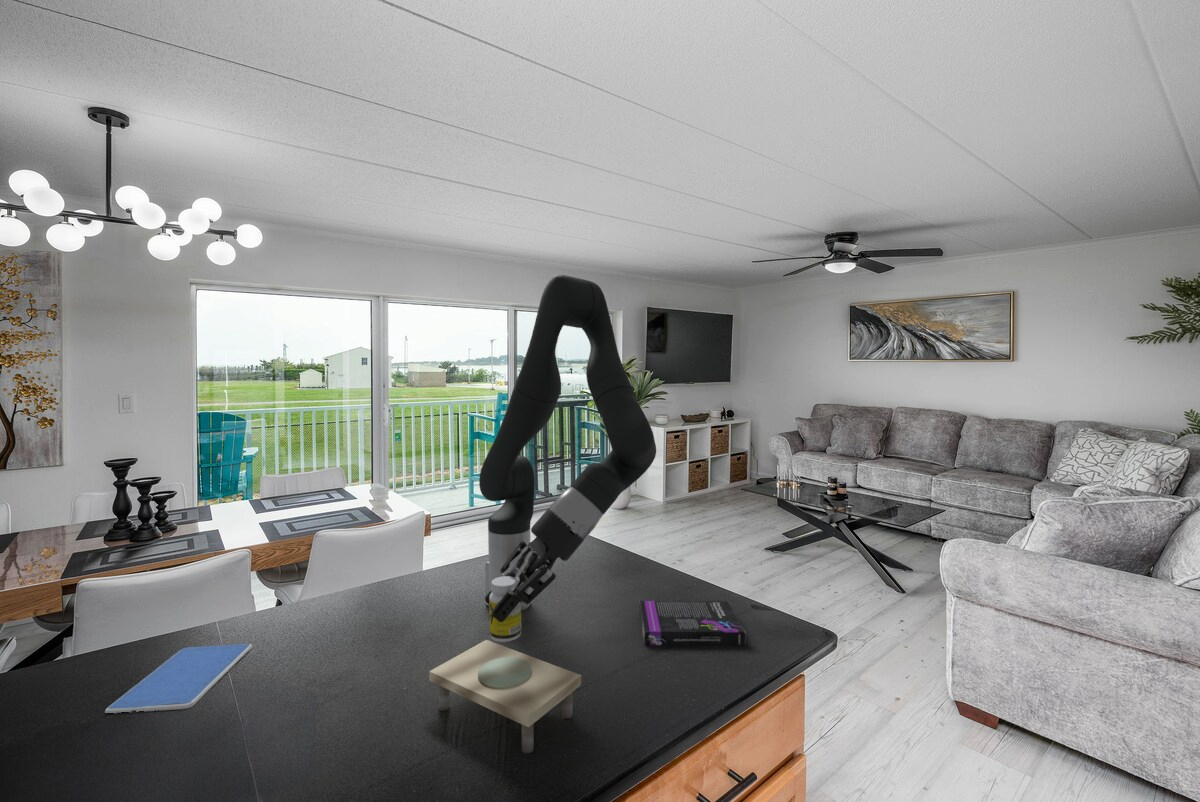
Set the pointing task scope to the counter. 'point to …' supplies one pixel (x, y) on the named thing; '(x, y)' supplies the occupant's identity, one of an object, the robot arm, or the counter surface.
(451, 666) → the shelf stand
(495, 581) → the supplement bottle
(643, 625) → the box
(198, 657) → the tablet computer
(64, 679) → the counter surface
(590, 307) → the robot arm
